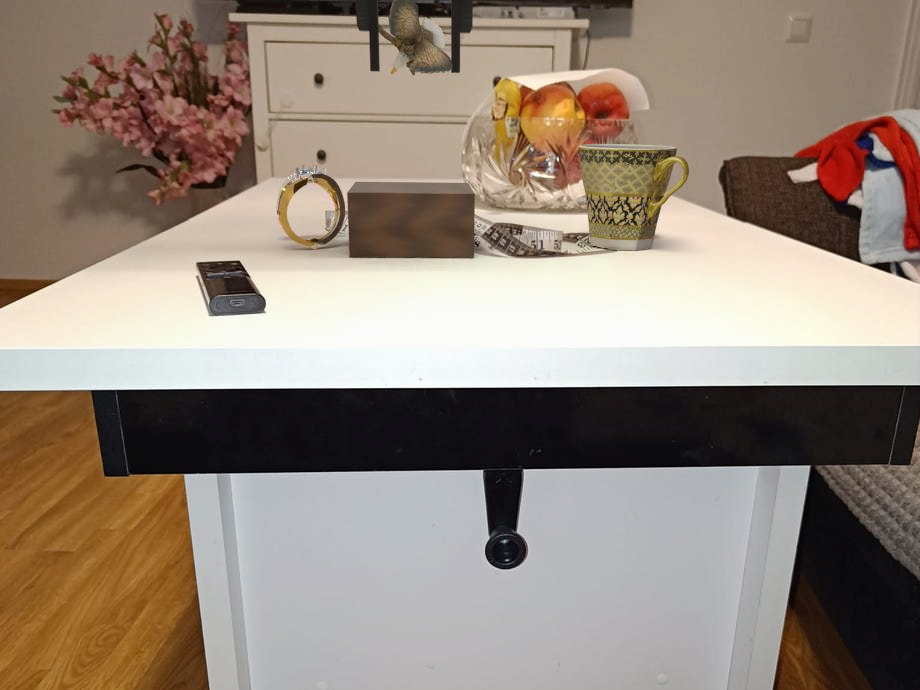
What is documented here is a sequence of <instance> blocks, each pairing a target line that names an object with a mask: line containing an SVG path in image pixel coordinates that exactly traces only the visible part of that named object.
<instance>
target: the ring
mask: <svg viewBox="0 0 920 690" xmlns="http://www.w3.org/2000/svg"><path fill="white" fill-rule="evenodd" d="M320 169H321V167H320V166H319V165H313V164H312V165H311V164H310V165H308V169H306V164H301V171H300V166H296V167H295V173H292V174H291V175H289V176H288V177H287V178H285V180H284V181H283V183H282V184H281V186H280V187H279V191H278V195H277V200H276V216H277V220H278V224H279V226H280V228H281V229H282V231H283V232H284V234H285V235H286V236H287V237H288V238H289V239H290V240H291V241H293V242H294V243H297V244H298V245H300V246H304V247H308V248H309V249H312V250H316V249H317V250H318V249H319V247H321V246H325V245H327V244H328V243H329V242H332V241H333V240H334V239H335V238H336V237H337V235H338V234H339V233H340V231H341V230H342V228H343V225H344V222H345V218H346V202H345V198H344V195H343V192H342V189H341V187H340V186H339V184H338V182H337V181H336V180H335V179H334V178H333V177H331V176H330V175H328V174H327V169H328V168H323V169H322V171H320ZM308 184H316V185H317V186H319V187H320V188H322V189H323V190H324V191H325V192H326V193H327V194H328V195H329V197H330V198H331V200H332V202H333V206H334V213H335V214H334V221H333V223H332V226H331V228H330V229H329V230H328V232H326V234H324V235H323V236H320V237H318V238H317V237H315V236H314V237H313V236H310V237H308V238H307V239H305V238H304V237H303V238H302V237H300V235H298V234H296V233H295V232H294V230H293V229H292V227H291V226H290V223H289V219H288V207H289V205H290V201H291V200H292V198H293V196H294V195H295V194H296V193H297V192H298V191H299V190H301V189H302V188H304V187H305V186H307V185H308Z"/></svg>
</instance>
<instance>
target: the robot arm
mask: <svg viewBox="0 0 920 690" xmlns="http://www.w3.org/2000/svg"><path fill="white" fill-rule="evenodd" d="M450 4H451V5H450V30H451V31H450V59H451V61H452V65H453V67H452V69H451V70H450V73H451V74H460V73H461V34H464V35H465V34H466V35H467V34H468V35H469V34H471V33H472V29H473V26H474V25H473V19H474V18H473V17H474V14H473V12H474V11H473V9H474V0H450ZM355 15H356V17H355V19H356V26H357V29H358V31H359V32H363V33H365V32H368V37H369V71H370V72H376V73H377V72H379V73H380V72H381V70H380V69H381V68H380V65H381V64H380V62H381V61H380V33H379V25H380V23H379V0H355Z"/></svg>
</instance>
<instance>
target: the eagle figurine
mask: <svg viewBox="0 0 920 690" xmlns="http://www.w3.org/2000/svg"><path fill="white" fill-rule="evenodd" d="M419 13H420V12H419V6H418V4H416V3H415V2H414V0H393V1H392V2H391V7H390V8H389V15H388V16H387V17H388V26H389V32H388V31H387V30H385V29H384V28H383V26H381V24H379V35H380V36H381V37H383V38H384V39H385V40H387V41H389V42H390V43H391V44H392V45H394V48H396V49H397V50H398V54H397V55H396V57H395V60H394V61H393V64H392V65H393V66H392V70H391V72H390V74H391V75H393V74H395V73H396V72H397V71H398V70H401V69H402V68H403V67H404V66H405V65H406V68H408V70H409V71H410V72H411V75H412V76H415V75H416V73H421V74H439V73H443V74H445V73H446V72H451V69H452V67H453V65H452V61H451V56H449V55H448V54H447V53H446V52H445V51H443V49H445V46H446V43H445V35H444V32H443V31H444V30H443V29H442V27H440V26H439V24H438V23H436V22H435V21H433V20H432V19H431V18H428V17H424V18H423V20H422V25H421V23H420V17H419Z"/></svg>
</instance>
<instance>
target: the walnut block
mask: <svg viewBox="0 0 920 690" xmlns="http://www.w3.org/2000/svg"><path fill="white" fill-rule="evenodd" d="M346 199H347V200H346V202H347V225H348V227H347V228H348V252H349V253H348V255H349V258H409V259H410V258H415V259H416V258H417V259H418V258H423V259H424V258H426V259H427V258H428V259H429V258H431V259H433V258H434V259H439V258H440V259H443V258H444V259H474V258H475V225H476V224H475V220H476V219H475V218H476V217H475V215H476V214H475V213H476V194H475V192H474V190H473V188H472V187H471V185H470V183H469V182H427V181H426V182H421V181H418V182H417V181H416V182H415V181H413V182H412V181H409V182H408V181H354V183H353V184H352V186H351V187H350V188H349V189H348V190H347V192H346Z"/></svg>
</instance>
